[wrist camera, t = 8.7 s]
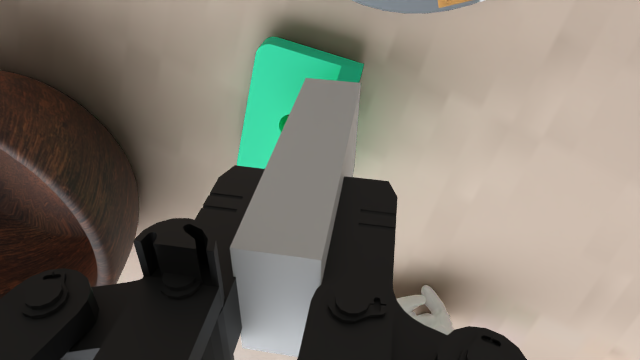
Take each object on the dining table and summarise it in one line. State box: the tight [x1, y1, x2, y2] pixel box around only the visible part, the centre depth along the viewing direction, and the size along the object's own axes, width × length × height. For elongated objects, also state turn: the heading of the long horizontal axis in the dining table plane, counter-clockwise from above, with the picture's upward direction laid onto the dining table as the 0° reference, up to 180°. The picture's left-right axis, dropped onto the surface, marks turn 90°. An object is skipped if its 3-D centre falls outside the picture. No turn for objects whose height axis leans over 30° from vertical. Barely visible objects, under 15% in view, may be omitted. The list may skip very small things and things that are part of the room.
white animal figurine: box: [397, 285, 454, 335], centre depth 47 cm, size 6×8×12 cm
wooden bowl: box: [0, 70, 139, 299], centre depth 43 cm, size 25×25×10 cm
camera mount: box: [237, 37, 364, 169], centre depth 35 cm, size 12×8×10 cm, turn 166°
